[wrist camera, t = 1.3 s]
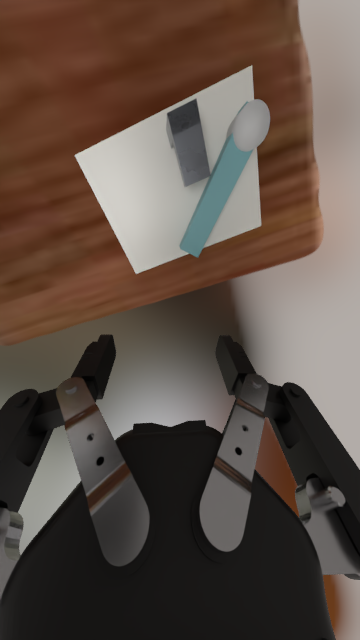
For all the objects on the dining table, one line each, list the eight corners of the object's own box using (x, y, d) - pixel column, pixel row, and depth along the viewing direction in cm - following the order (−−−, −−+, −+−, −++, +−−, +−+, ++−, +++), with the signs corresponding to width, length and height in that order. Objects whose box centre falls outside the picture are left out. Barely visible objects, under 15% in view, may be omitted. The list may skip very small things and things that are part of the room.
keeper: (189, 119, 20) (196, 98, 16) (202, 180, 23) (210, 175, 19) (166, 130, 20) (166, 113, 16) (182, 189, 24) (185, 186, 20)
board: (246, 73, 19) (251, 65, 18) (257, 224, 28) (261, 225, 27) (79, 158, 22) (74, 155, 21) (137, 271, 31) (136, 273, 30)
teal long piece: (237, 106, 19) (250, 89, 17) (261, 127, 21) (277, 114, 18) (177, 244, 27) (179, 249, 24) (196, 254, 28) (200, 260, 26)
